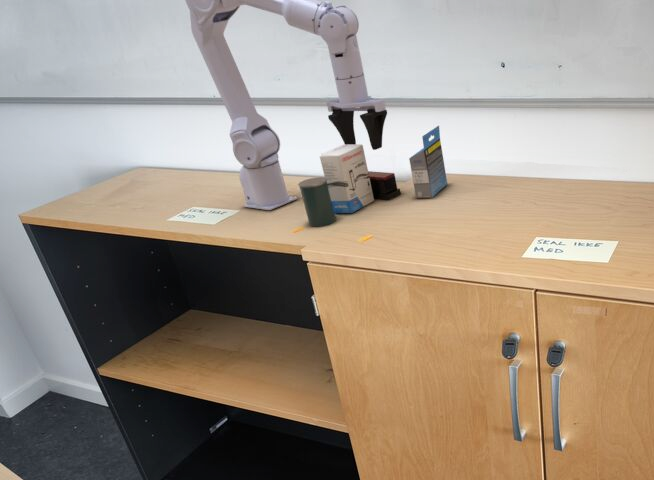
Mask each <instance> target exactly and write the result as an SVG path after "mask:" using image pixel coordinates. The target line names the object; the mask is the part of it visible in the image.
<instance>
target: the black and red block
mask: <svg viewBox="0 0 654 480" xmlns="http://www.w3.org/2000/svg"><path fill="white" fill-rule="evenodd" d="M368 174H369V178H370V183H371V188H372V193H373V197H374V200H384V201H390V200H392V199H394V198H396V197H398V196H400V195H402V191H401V188H398V184H397V180H396V179H397V178H396V175H395V172H383V171H373V170H372V171H371V170H368Z"/></svg>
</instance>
